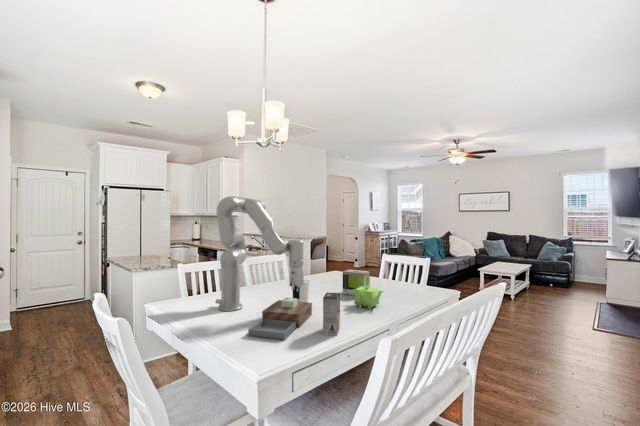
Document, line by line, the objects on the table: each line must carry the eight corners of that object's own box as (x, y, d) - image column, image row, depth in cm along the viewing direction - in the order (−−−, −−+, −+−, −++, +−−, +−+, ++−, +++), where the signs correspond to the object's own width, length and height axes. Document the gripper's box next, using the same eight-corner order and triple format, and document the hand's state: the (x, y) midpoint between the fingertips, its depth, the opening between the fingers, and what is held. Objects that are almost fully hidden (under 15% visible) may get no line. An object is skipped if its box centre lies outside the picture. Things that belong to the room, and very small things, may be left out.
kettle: (384, 309, 177) (384, 288, 177) (359, 311, 174) (359, 290, 174) (373, 301, 192) (373, 282, 192) (350, 303, 189) (350, 283, 189)
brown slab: (262, 323, 152) (262, 311, 152) (278, 311, 172) (278, 300, 172) (299, 327, 148) (299, 314, 148) (311, 314, 167) (311, 302, 167)
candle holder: (311, 302, 189) (312, 281, 189) (295, 304, 185) (295, 283, 185) (306, 298, 198) (306, 278, 198) (290, 300, 194) (290, 279, 194)
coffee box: (325, 327, 149) (326, 291, 149) (340, 328, 148) (340, 292, 148) (322, 334, 140) (322, 297, 140) (337, 335, 139) (337, 297, 139)
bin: (248, 336, 137) (248, 329, 137) (262, 325, 151) (262, 318, 151) (284, 340, 133) (284, 333, 133) (295, 328, 146) (295, 322, 146)
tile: (281, 306, 159) (281, 300, 159) (286, 303, 165) (286, 297, 165) (293, 307, 158) (293, 301, 158) (297, 304, 164) (297, 298, 164)
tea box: (370, 294, 211) (370, 271, 211) (363, 297, 202) (363, 273, 202) (349, 291, 219) (349, 268, 218) (341, 294, 210) (342, 270, 210)
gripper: (298, 266, 162) (298, 303, 162) (307, 261, 176) (307, 296, 176) (284, 265, 164) (284, 302, 164) (294, 261, 178) (294, 295, 178)
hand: (296, 298), depth 170 cm, fingers closed
